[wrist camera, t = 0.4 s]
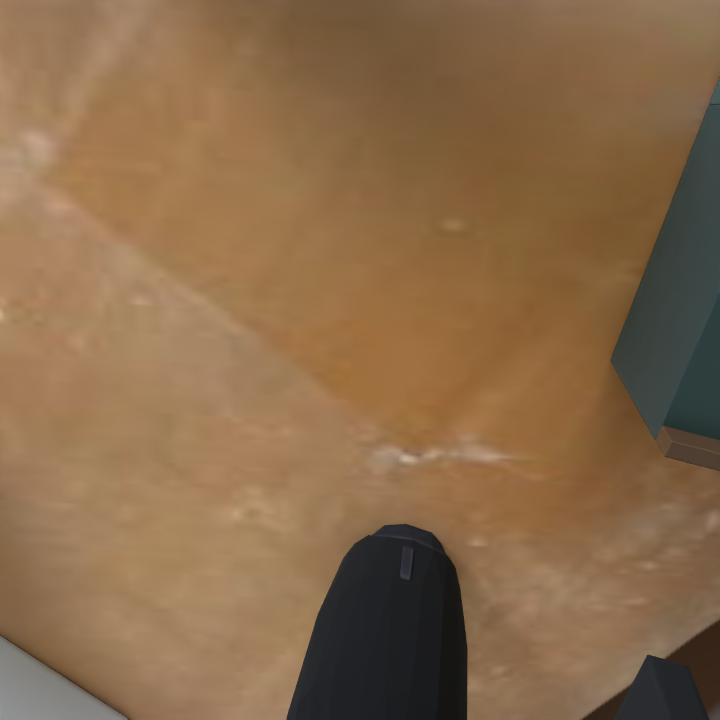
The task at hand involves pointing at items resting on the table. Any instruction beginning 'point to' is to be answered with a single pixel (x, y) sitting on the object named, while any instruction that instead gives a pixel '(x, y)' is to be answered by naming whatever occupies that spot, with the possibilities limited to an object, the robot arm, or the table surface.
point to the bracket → (43, 691)
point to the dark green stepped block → (681, 314)
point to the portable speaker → (388, 635)
